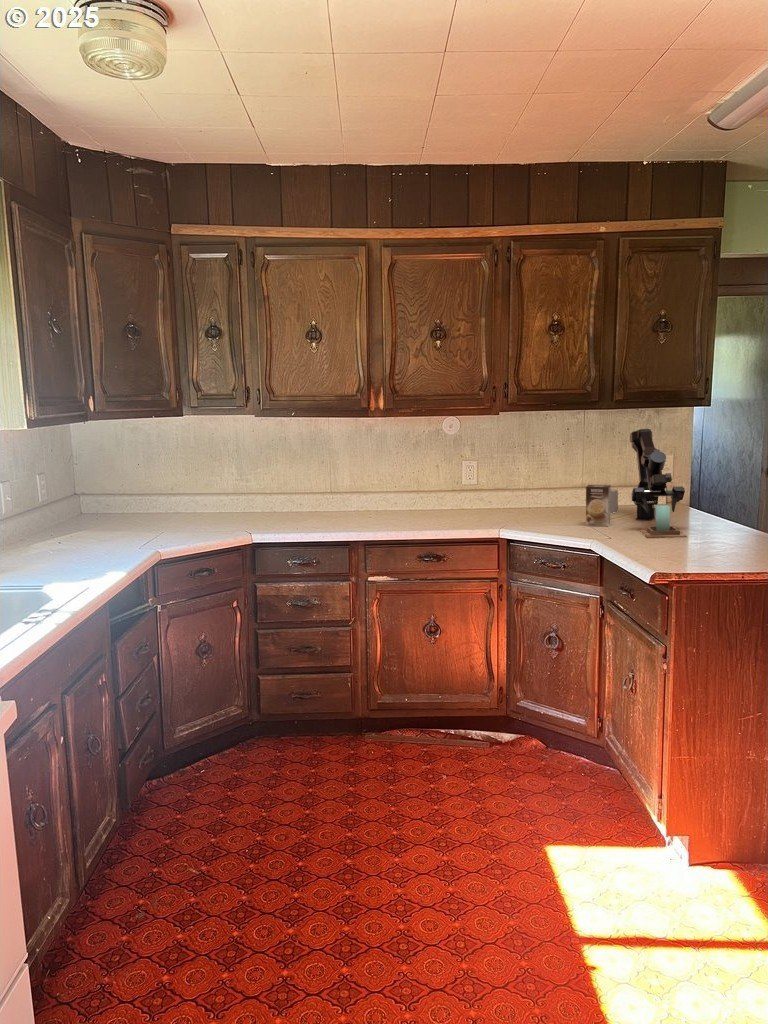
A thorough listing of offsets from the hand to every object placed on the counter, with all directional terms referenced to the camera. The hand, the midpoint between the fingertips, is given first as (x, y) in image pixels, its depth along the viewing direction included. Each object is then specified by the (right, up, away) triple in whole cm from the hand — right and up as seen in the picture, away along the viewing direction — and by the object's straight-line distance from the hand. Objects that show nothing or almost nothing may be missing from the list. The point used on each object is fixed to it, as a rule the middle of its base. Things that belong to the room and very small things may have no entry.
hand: (660, 511), depth 288 cm
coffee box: (-17, -6, +22) cm, 29 cm away
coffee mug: (-4, 0, +54) cm, 54 cm away
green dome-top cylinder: (0, -8, -3) cm, 8 cm away
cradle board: (0, -8, -3) cm, 9 cm away
